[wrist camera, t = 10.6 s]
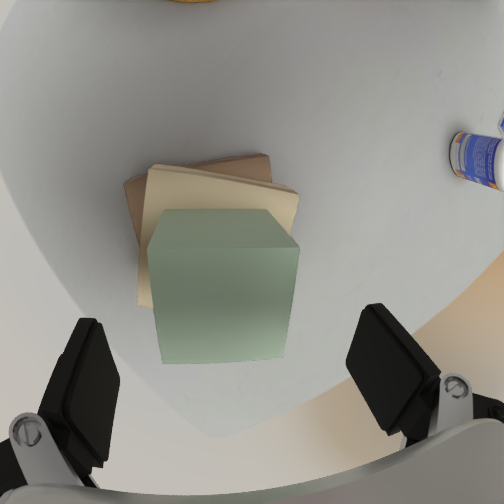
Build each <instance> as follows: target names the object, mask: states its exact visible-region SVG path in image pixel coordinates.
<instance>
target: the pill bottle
mask: <svg viewBox="0 0 504 504" xmlns="http://www.w3.org/2000/svg"><path fill="white" fill-rule="evenodd" d="M450 159H451V164H452V168H453V170H454V172H455V173H456V174H457V175H458V176H459V177H461V178H464V179H467V180H470V181H473V182H476V183H479V184H482V185H485V186H488V187H491V188H494V189H497V190H500V191H503V192H504V139H503V138H497V137H492V136H486V135H479V134H474V133H467V132H461V133H458V134H457V135H456V136H455V138H454V139H453V142H452V145H451V151H450Z"/></svg>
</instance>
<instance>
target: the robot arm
mask: <svg viewBox="0 0 504 504" xmlns="http://www.w3.org/2000/svg"><path fill="white" fill-rule="evenodd" d="M346 367H347V369H348V371H349V373H350V374H351V376H352V378H353V379H354V381H355V383H356V385H357V386H358V388H359V390H360V392H361V394H362V395H363V397H364V399H365V401H366V402H367V404H368V406H369V408H370V410H371V412H372V413H373V415H374V417H375V419H376V421H377V422H378V424H379V426H380V428H381V429H382V430H384V431H386V433H387V435H388V436H390V435H393V434H395V433H398V432H400V430H401V431H402V433H403V438H402V442H401V446H400V450H399V451H398V452H396V453H393V454H391V455H388V456H386V457H383V458H381V459H378V460H376V461H373V462H370V463H368V464H365V465H362V466H359V467H356V468H353V469H350V470H347V471H344V472H341V473H337V474H334V475H331V476H327V477H323V478H319V479H315V480H311V481H307V482H303V483H298V484H293V485H289V486H283V487H278V488H272V489H266V490H259V491H251V492H242V493H232V494H219V495H191V496H182V495H180V496H178V495H155V494H139V493H128V492H120V491H113V490H105V489H100V487H99V486H98V484H97V483H96V482H95V480H94V479H93V478H92V476H91V472H92V467H98V468H103V463H104V461H107V460H108V457H109V448H110V440H111V434H112V426H113V420H114V414H115V408H116V403H117V397H118V391H119V386H120V376H119V373H118V371H117V368H116V365H115V362H114V360H113V357H112V354H111V351H110V348H109V345H108V342H107V339H106V336H105V332H104V329H103V326H102V324H101V323H98V322H97V320H96V319H95V318H80V319H79V320H78V322H77V324H76V326H75V328H74V330H73V333H72V334H71V337H70V339H69V341H68V343H67V345H66V348H65V350H64V352H63V354H61V356H60V357H59V359H58V361H57V364H56V366H55V368H54V370H53V373H52V376H51V378H50V380H49V383H48V385H47V388H46V390H45V393H44V396H43V399H42V401H41V404H40V407H39V410H38V413H37V414H34V413H23V414H20V415H18V416H17V417H15V419H14V420H13V421H12V423H11V425H10V427H9V438H8V439H6V440H5V441H3V442H1V443H0V504H504V403H503V402H501V401H499V400H496V399H492V398H488V397H484V396H481V395H478V394H474V393H472V388H471V385H470V383H469V382H468V381H467V380H466V378H464V377H463V376H461V375H459V374H455V373H449V374H446V375H444V376H443V377H442V379H440V377H439V375H440V373H441V371H440V370H439V369H438V367H437V366H436V365H435V364H434V362H433V361H432V360H431V359H430V357H429V356H428V355H427V354H426V353H425V352H424V351H423V349H422V348H421V347H420V346H419V344H418V343H417V342H416V341H415V340H414V339H413V337H412V336H411V335H410V334H409V333H408V332H407V331H406V329H405V328H404V327H403V326H402V325H401V324H400V323H399V322H398V320H397V319H396V318H395V317H394V316H393V315H392V314H391V313H390V311H389V310H388V309H387V308H386V307H385V306H384V305H383V304H382V303H376V304H369V305H367V306H366V307H365V309H363V310H362V312H361V315H360V318H359V322H358V325H357V328H356V331H355V334H354V337H353V340H352V343H351V346H350V349H349V352H348V355H347V358H346Z"/></svg>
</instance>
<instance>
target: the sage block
mask: <svg viewBox="0 0 504 504" xmlns="http://www.w3.org/2000/svg"><path fill="white" fill-rule="evenodd" d="M299 252H300V247H299V246H298V244H297V243H296V242H295V241H294V240H293V239H292V237H291V236H290V235H289V234H288V233H287V232H286V231H285V229H284V228H283V227H282V226H281V225H280V224H279V223H278V221H277V220H276V219H275V218H274V217H273V216H272V215H271V214H270V212H269V211H268V210H267V209H164V210H163V213H162V215H161V217H160V219H159V222H158V224H157V226H156V229H155V231H154V233H153V236H152V238H151V240H150V243H149V245H148V248H147V257H148V267H149V277H150V286H151V294H152V302H153V309H154V316H155V323H156V330H157V336H158V342H159V348H160V353H161V359H162V364H202V363H226V362H242V361H255V360H266V359H277V358H283V355H284V349H285V343H286V338H287V332H288V326H289V320H290V314H291V307H292V301H293V294H294V288H295V281H296V274H297V267H298V260H299Z"/></svg>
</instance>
